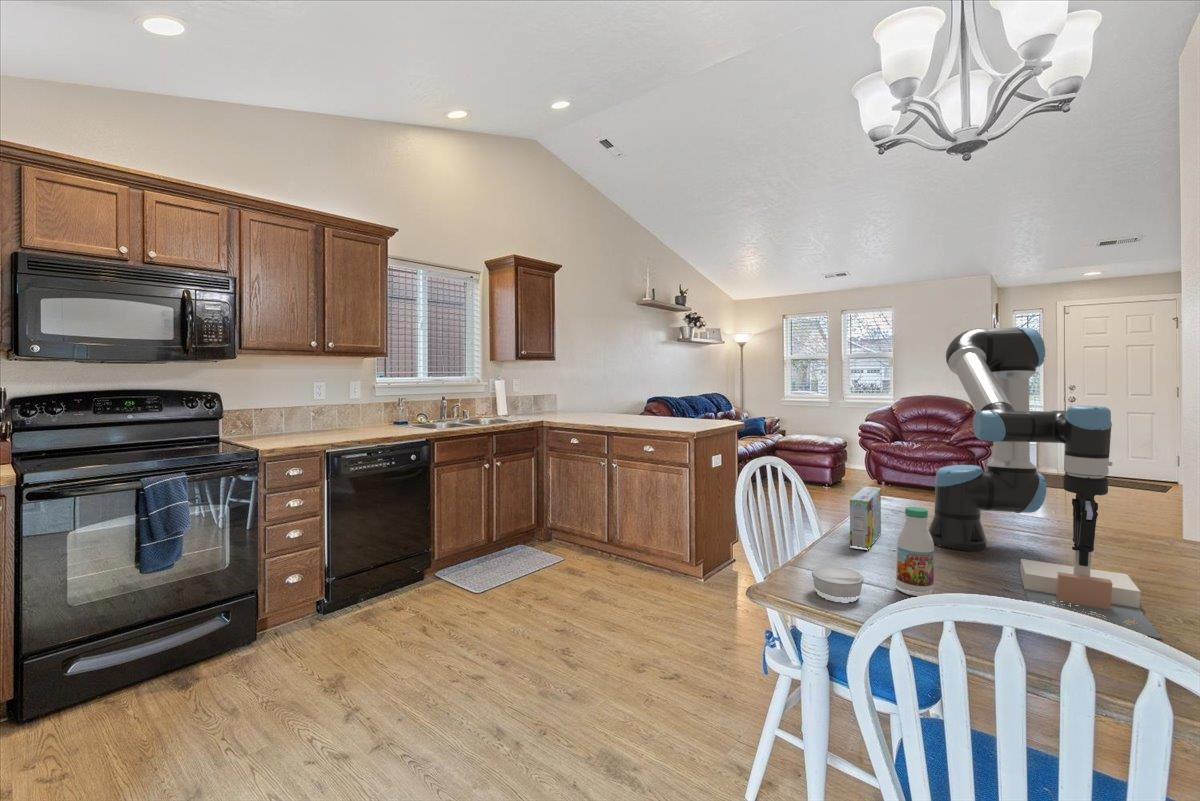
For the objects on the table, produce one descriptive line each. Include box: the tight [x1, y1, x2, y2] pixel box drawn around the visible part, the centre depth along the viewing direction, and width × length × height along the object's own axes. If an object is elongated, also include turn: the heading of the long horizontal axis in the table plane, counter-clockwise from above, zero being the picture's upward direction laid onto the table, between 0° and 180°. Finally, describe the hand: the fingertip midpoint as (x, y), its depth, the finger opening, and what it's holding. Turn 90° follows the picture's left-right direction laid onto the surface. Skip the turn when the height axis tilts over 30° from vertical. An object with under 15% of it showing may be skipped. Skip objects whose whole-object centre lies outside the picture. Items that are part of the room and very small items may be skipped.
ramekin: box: [811, 565, 865, 598], centre depth 130 cm, size 11×11×5 cm
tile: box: [1056, 572, 1112, 610], centre depth 123 cm, size 9×6×2 cm
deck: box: [1019, 558, 1141, 609], centre depth 132 cm, size 20×12×4 cm, turn 57°
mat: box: [1024, 589, 1162, 640], centre depth 120 cm, size 20×16×1 cm
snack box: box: [849, 485, 882, 549], centre depth 170 cm, size 21×6×15 cm, turn 144°
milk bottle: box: [895, 506, 935, 592], centre depth 131 cm, size 8×8×20 cm
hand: (1081, 578), depth 126 cm, fingers closed
